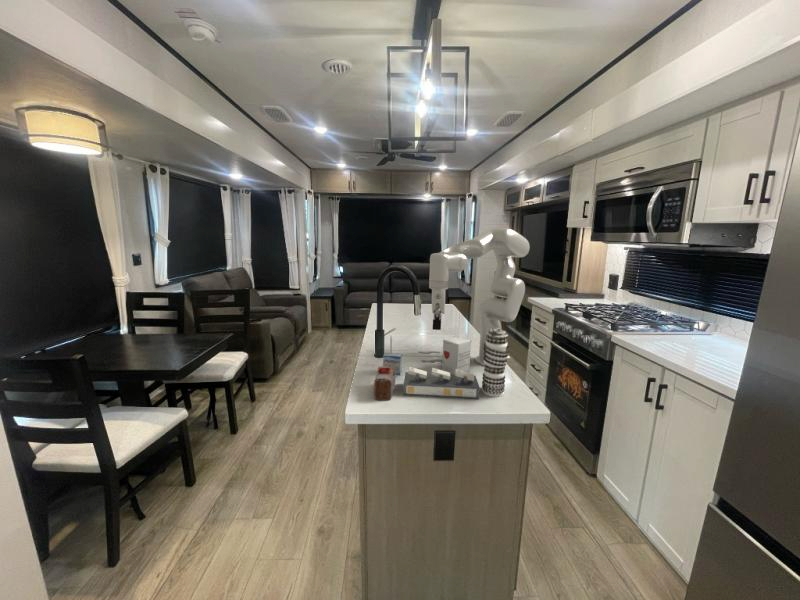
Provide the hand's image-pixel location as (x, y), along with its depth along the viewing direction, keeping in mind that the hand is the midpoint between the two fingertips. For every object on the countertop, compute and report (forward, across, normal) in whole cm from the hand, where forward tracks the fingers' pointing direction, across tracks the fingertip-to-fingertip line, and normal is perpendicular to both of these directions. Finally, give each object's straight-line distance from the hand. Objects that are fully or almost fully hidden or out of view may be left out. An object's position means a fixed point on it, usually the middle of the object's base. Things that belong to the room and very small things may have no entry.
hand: (436, 326), depth 130 cm
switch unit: (+24, -9, -2) cm, 25 cm away
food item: (+24, -13, +19) cm, 33 cm away
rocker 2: (+16, -9, -2) cm, 19 cm away
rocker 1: (+16, -10, +7) cm, 20 cm away
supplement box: (+24, +11, -9) cm, 28 cm away
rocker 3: (+16, -9, -11) cm, 22 cm away
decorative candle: (+24, -6, -23) cm, 33 cm away
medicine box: (+24, +5, +19) cm, 31 cm away
